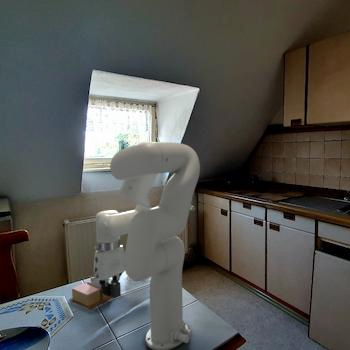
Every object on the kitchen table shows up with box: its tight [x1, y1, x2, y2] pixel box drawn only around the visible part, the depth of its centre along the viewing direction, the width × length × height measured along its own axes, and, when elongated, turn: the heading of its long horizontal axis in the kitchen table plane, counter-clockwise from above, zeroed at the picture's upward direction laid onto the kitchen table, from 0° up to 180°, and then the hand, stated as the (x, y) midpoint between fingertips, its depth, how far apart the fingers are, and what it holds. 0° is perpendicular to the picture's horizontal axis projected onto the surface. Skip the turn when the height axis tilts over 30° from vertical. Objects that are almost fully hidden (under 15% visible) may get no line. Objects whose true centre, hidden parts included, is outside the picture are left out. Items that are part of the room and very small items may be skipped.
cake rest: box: [86, 279, 108, 299], centre depth 103 cm, size 10×4×4 cm, turn 63°
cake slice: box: [71, 282, 100, 306], centre depth 98 cm, size 10×4×4 cm, turn 63°
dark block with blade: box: [90, 276, 122, 299], centre depth 97 cm, size 16×2×5 cm, turn 63°
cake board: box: [68, 296, 114, 311], centre depth 101 cm, size 14×12×1 cm
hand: (110, 292), depth 96 cm, fingers closed on dark block with blade, 2 cm apart
